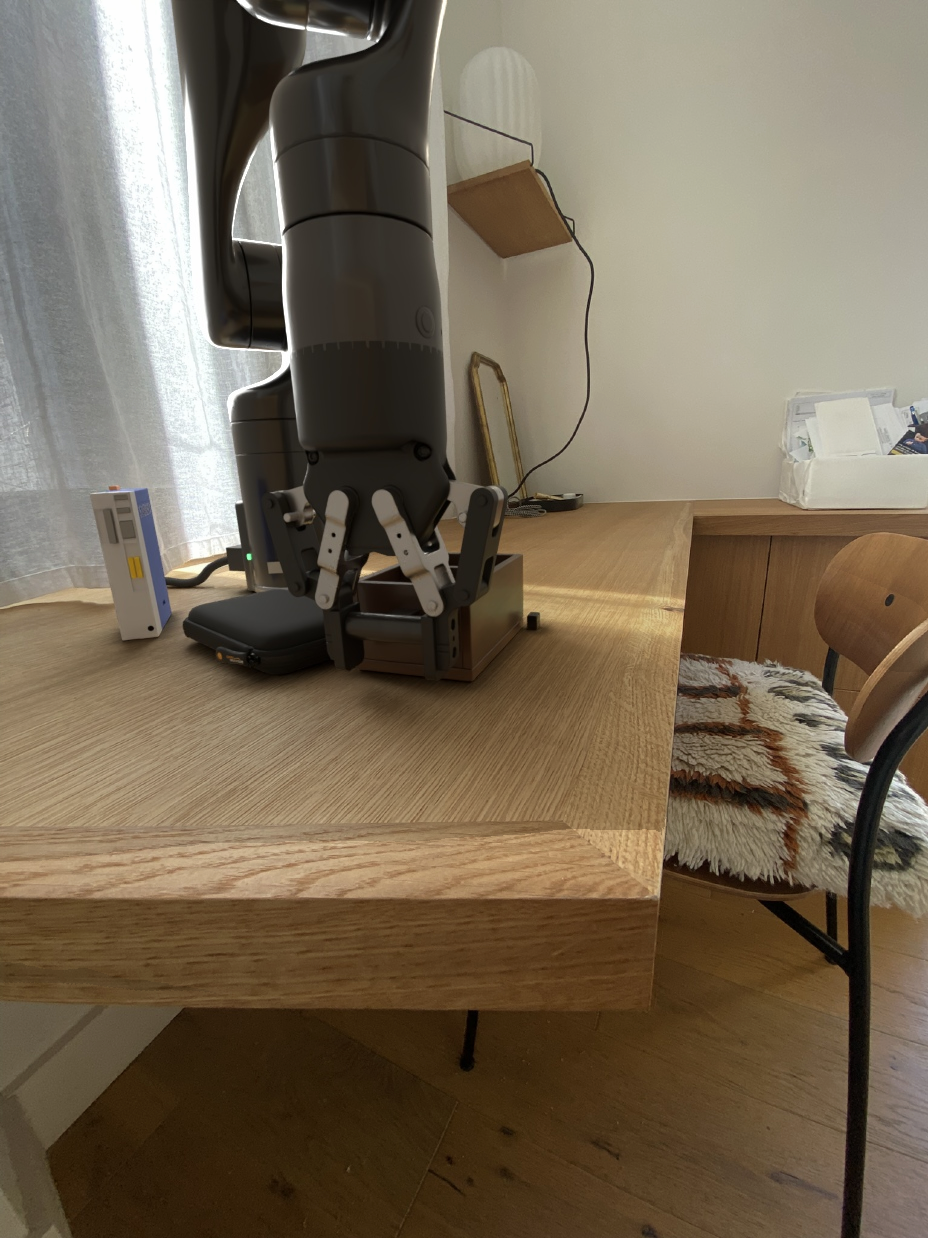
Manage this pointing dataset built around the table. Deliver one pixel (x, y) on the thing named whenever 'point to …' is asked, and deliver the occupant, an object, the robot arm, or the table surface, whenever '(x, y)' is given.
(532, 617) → the dark bar
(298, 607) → the carrying case
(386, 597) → the brown box with handle
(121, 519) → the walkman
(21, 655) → the table surface
